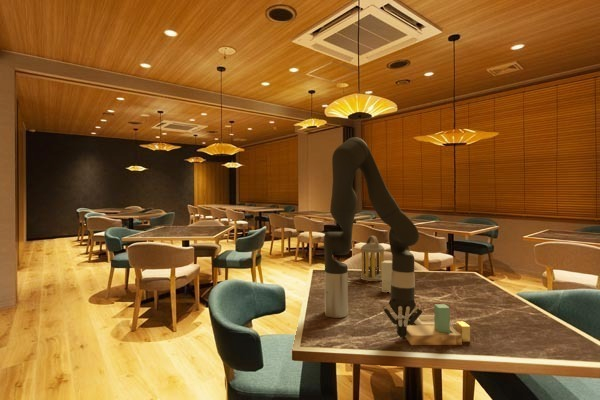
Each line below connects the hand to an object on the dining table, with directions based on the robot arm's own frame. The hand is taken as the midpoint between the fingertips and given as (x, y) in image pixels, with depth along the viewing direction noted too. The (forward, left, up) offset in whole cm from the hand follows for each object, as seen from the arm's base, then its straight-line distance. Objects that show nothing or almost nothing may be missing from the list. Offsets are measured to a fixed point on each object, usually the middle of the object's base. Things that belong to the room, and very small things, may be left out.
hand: (401, 336), depth 106 cm
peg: (+13, 0, -1) cm, 13 cm away
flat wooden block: (+10, 0, -1) cm, 10 cm away
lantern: (+8, +80, -1) cm, 80 cm away
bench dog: (+20, 0, -1) cm, 20 cm away
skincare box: (+11, +56, -1) cm, 57 cm away
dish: (+14, +11, -1) cm, 18 cm away
